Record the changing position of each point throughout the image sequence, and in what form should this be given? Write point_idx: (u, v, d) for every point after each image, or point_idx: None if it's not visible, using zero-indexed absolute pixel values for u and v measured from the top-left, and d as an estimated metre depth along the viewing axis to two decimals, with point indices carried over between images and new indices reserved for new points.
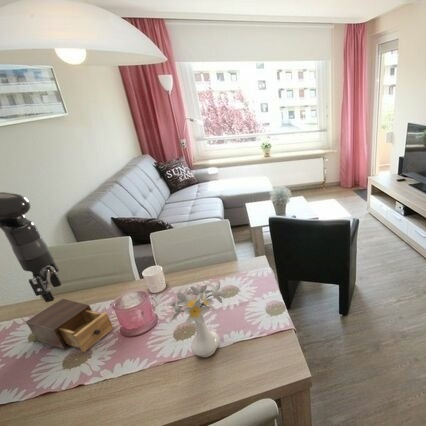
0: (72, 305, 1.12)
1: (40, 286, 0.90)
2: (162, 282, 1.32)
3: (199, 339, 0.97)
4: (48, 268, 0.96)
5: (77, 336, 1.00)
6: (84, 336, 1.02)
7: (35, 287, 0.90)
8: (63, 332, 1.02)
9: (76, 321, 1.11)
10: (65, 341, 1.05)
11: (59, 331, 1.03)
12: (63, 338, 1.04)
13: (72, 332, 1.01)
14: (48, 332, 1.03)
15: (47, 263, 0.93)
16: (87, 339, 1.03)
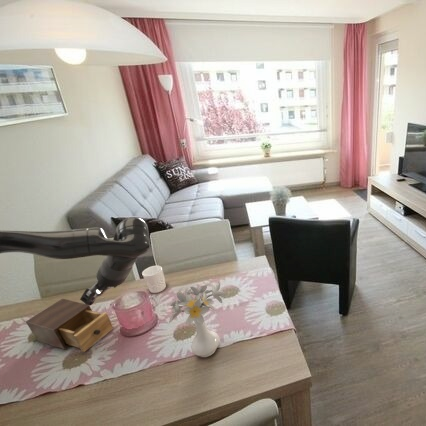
0: (72, 305, 1.12)
1: (87, 299, 0.84)
2: (162, 282, 1.32)
3: (199, 339, 0.97)
4: None
5: (77, 336, 1.00)
6: (84, 336, 1.02)
7: (84, 296, 0.84)
8: (63, 332, 1.02)
9: (76, 321, 1.11)
10: (65, 341, 1.05)
11: (59, 331, 1.03)
12: (63, 338, 1.04)
13: (72, 332, 1.01)
14: (48, 332, 1.03)
15: (113, 286, 0.86)
16: (87, 339, 1.03)
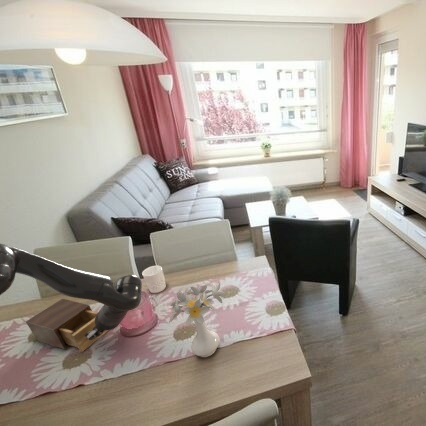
0: (72, 305, 1.12)
1: None
2: (162, 282, 1.32)
3: (199, 339, 0.97)
4: None
5: (75, 335, 1.00)
6: (82, 335, 1.02)
7: None
8: (61, 331, 1.03)
9: (74, 321, 1.11)
10: (63, 340, 1.05)
11: (57, 330, 1.03)
12: (61, 337, 1.05)
13: (70, 331, 1.01)
14: (48, 332, 1.03)
15: (109, 329, 0.97)
16: (85, 338, 1.03)
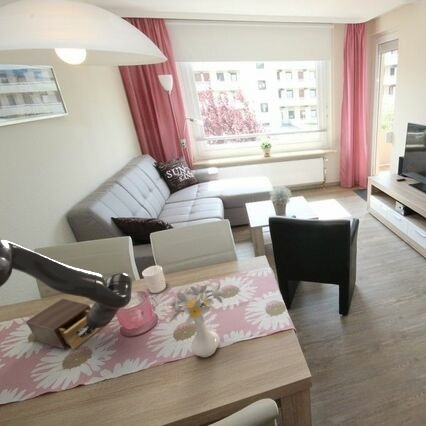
0: (72, 305, 1.12)
1: None
2: (162, 282, 1.32)
3: (199, 339, 0.97)
4: None
5: (67, 333, 1.01)
6: (74, 333, 1.03)
7: None
8: None
9: None
10: None
11: None
12: None
13: (62, 329, 1.02)
14: (48, 332, 1.03)
15: (100, 327, 0.98)
16: (77, 336, 1.04)
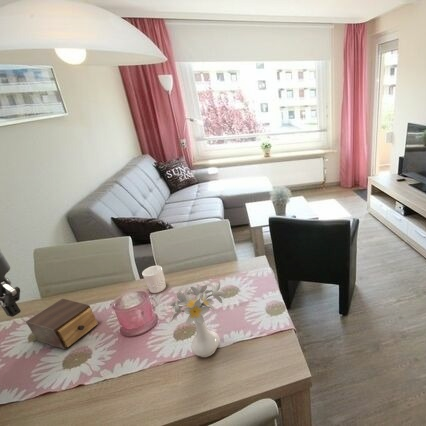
0: (72, 305, 1.12)
1: None
2: (162, 282, 1.32)
3: (199, 339, 0.97)
4: None
5: (61, 331, 1.02)
6: (68, 331, 1.04)
7: None
8: None
9: None
10: None
11: None
12: None
13: None
14: (48, 332, 1.03)
15: None
16: (71, 334, 1.05)
